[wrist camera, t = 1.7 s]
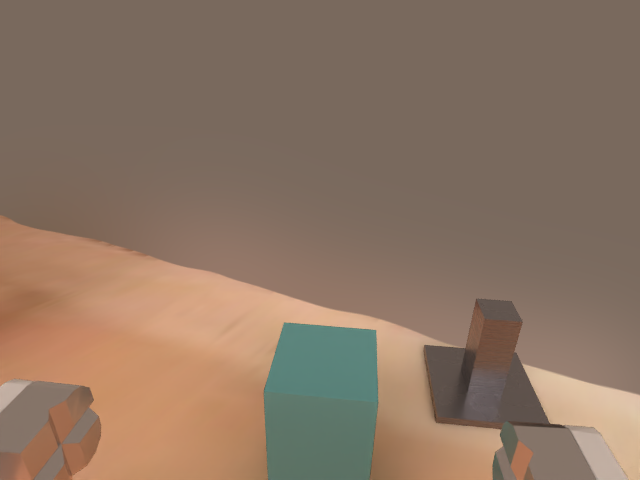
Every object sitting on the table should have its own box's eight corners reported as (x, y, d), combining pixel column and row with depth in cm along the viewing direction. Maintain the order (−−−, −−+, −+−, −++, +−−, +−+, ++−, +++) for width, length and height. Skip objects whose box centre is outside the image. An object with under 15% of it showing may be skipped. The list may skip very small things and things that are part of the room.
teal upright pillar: (269, 512, 25) (263, 391, 21) (286, 432, 30) (284, 322, 26) (364, 523, 24) (377, 402, 20) (365, 440, 29) (376, 330, 25)
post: (436, 422, 31) (452, 340, 28) (423, 350, 38) (435, 278, 35) (549, 433, 30) (579, 350, 27) (514, 358, 37) (535, 285, 34)
